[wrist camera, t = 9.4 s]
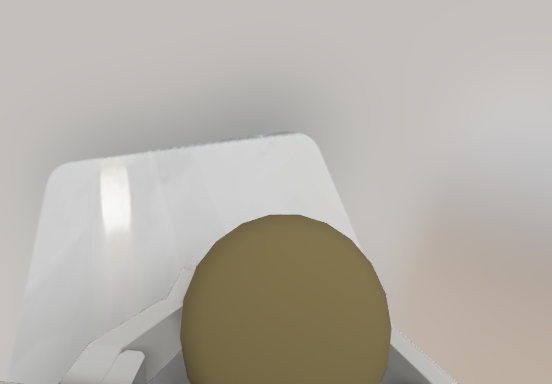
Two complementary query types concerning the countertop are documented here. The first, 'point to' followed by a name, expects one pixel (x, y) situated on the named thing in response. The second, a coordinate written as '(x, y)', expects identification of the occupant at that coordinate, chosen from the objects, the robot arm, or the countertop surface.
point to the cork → (285, 308)
